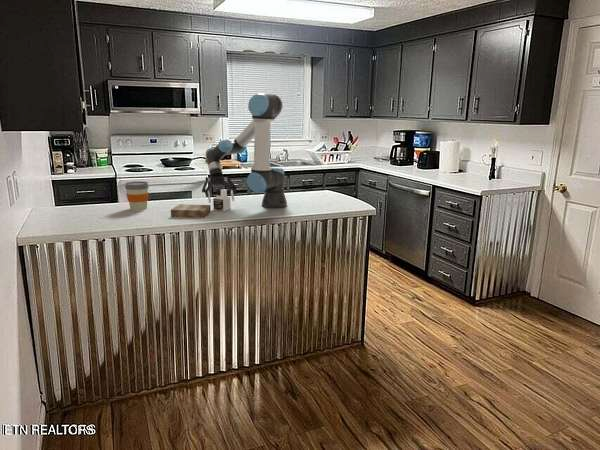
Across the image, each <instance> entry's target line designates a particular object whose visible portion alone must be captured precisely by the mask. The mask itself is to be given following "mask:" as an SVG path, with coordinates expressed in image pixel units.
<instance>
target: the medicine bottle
mask: <svg viewBox="0 0 600 450" xmlns="http://www.w3.org/2000/svg"><path fill="white" fill-rule="evenodd" d="M215 194H216V196H214V197H213V198H212V200H213V201H212V202H213V205H212V206H213V210H214V211H219V212H220V211H221V212H225V211H228V210H231V207H232V206H231V197H230V196H228V190H227V188H226V189H225V188H218V189H216V191H215Z"/></svg>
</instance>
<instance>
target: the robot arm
mask: <svg viewBox="0 0 600 450" xmlns="http://www.w3.org/2000/svg"><path fill="white" fill-rule="evenodd" d="M247 105H248V106H247V107H248V111H249V112H250V115H251V119H252V121H250V122H249V124H248V125H247V126H246V127H245V128H244V129H243V130H242V131H241V132H240V133H239V134H238V136H236V138H235V139H234V140H233V141H231V140H230V139H228V138H224V139H222V140H221V141H220V142H219V143H218V144H216V146H214V147H210V148H207V150H205V158H206V162H207V163H206V164H207V167H208V172H209V177H208V176H206V177H205V181H204V183H203V186H202V188H201V192H202V193H204V194H205V197H206V198H207V199H208V203H209V204H211V202H212V201H211V200H212V199H211V193H210V190H211V189H212V188H213V187H214V185H215V186H217V185H218V186H221V185H222V186H224V187H225V188H226V189H228V190H229V191H230V196H231V197H230V198H231V201H232V202H234V201H235V194H236V193H235V192H236V191H237V186H236V185H235V183H234V182H233V181H232V180H231V178H230V176H229V175H227V176H226V177H224V174H223V168H222V165H221V160H222V159H223V158H224V157H225V156H227V155H236V154H242V153H244V152H245V150H246V148H247V147H246V146H248V144H249V143H250V142H252V141H253V139H254V143H253V144H254V146H253V148H254V149H253V150H254V151H253V166H252V167H251V168H250V169H251V170H250V173H249V175H248V176H247V177H246V183H247V186H248V188H249V189H250V190H251V191H252V192H254V193H257V194H258V193H264V194H263V198H262V201H261V206H262V207H264V208H271V209H279V208H285V207H287V206H288V202H287V197H286V195H285V170H284V168H282V167H281V168H280V167H272V166H270V148H271V142H270V141H271V123H272V122H273V121H275V120H276V118H277V117H278V116H279V115H280V114H281V112H282V109H283V101H282V99H281V98H280V96H278V95H277V94H274V93H254V94H252V96H251V97H250V98H249V101H248V104H247ZM209 182H210V184H209V185H208V183H209ZM207 185H208V186H207Z"/></svg>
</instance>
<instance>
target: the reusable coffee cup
mask: <svg viewBox="0 0 600 450" xmlns="http://www.w3.org/2000/svg"><path fill="white" fill-rule="evenodd" d="M124 185H125V191H126V193H125V195H126V198H127V202H128V204H129V209H130V210H131V211H135V210H138V211H143V210H144V211H145V210H147V208H148V201H149V189H150V187H149V183H148V182H147V181H138V180H137V181H127V182H126V183H125V184H124Z"/></svg>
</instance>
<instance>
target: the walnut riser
mask: <svg viewBox="0 0 600 450" xmlns="http://www.w3.org/2000/svg"><path fill="white" fill-rule="evenodd" d="M211 208H212V207H211V205H210V204H177V205H176V206H174V207H173V208H171V209H170V218H188V219H189V218H190V219H192V218H193V219H197V218H198V219H205V218H206V217H207V216H208V215H209V214H210V213H211V212H212V209H211Z"/></svg>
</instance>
